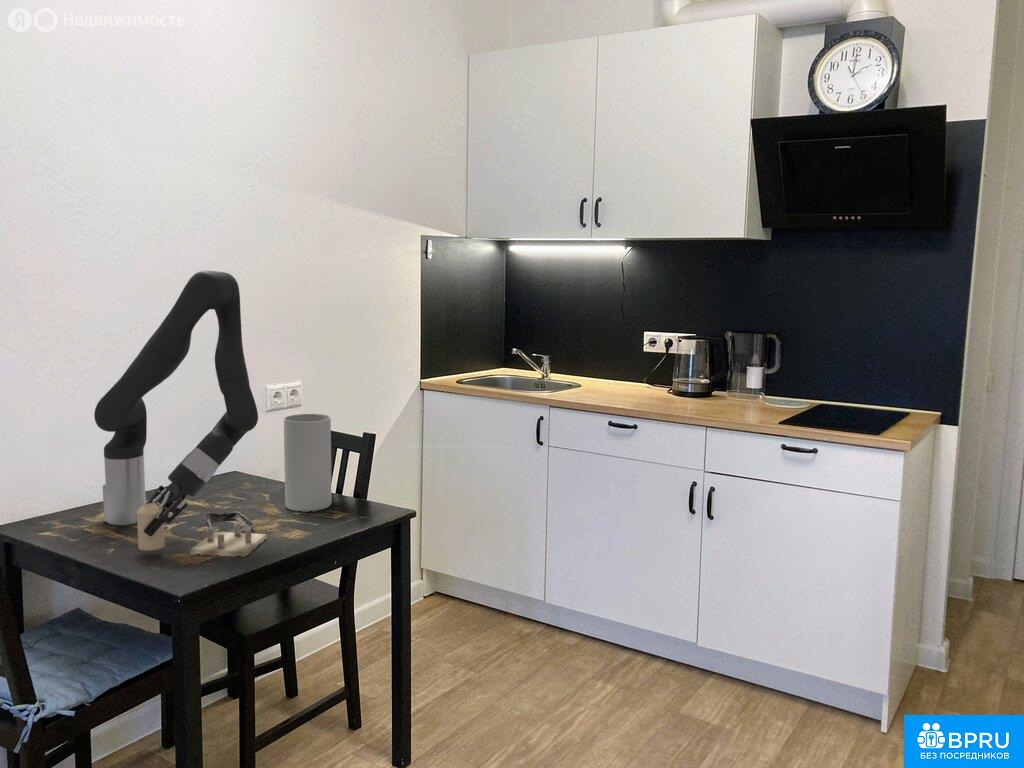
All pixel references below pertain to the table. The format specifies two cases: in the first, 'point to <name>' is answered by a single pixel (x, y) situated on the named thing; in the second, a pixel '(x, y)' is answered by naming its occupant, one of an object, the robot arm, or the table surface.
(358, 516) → the table surface
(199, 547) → the candle plate
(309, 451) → the cylinder vase
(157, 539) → the candle
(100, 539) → the table surface
